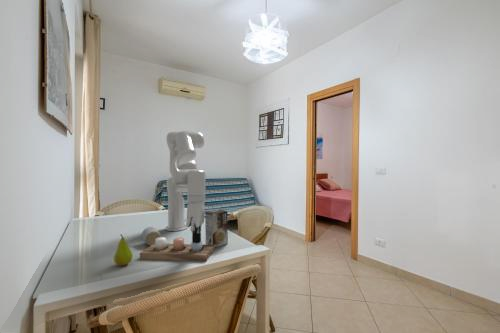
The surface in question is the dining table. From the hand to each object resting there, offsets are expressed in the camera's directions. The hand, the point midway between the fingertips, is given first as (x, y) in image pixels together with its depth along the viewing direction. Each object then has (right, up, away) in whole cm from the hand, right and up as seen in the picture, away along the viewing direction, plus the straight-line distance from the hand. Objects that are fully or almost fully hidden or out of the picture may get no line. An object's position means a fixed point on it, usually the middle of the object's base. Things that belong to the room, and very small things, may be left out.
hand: (196, 242), depth 97 cm
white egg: (-16, -3, +2) cm, 16 cm away
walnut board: (-8, -6, +1) cm, 10 cm away
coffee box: (+7, -6, +13) cm, 16 cm away
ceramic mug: (-25, -6, +16) cm, 30 cm away
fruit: (-26, -6, -9) cm, 28 cm away
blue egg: (0, -4, 0) cm, 4 cm away
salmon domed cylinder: (-8, -3, +1) cm, 8 cm away
